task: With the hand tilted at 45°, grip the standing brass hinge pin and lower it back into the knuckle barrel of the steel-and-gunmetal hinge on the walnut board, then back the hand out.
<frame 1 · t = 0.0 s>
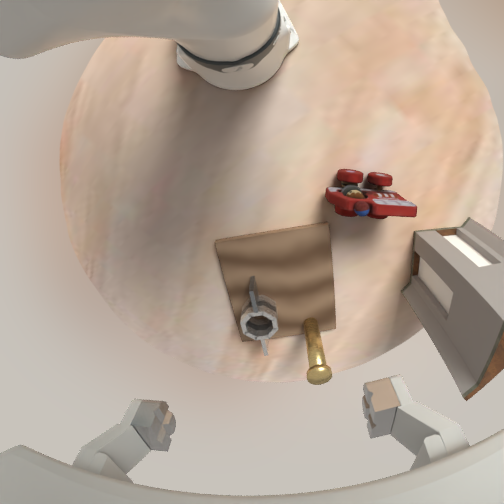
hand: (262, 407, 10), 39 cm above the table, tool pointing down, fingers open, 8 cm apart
walnut board: (281, 286, 53), on the table
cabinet: (428, 244, 48), on the table
hinge: (260, 309, 54), resting on walnut board
toy fire truck: (358, 190, 45), on the table
hinge pin: (310, 323, 55), point 1 cm above the table, touching walnut board
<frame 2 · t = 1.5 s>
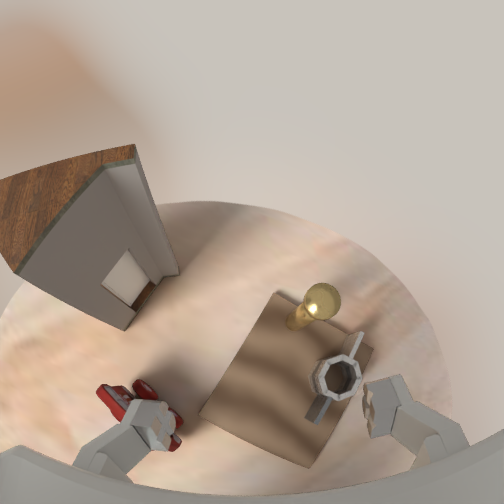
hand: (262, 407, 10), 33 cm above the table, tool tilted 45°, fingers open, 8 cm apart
walnut board: (291, 384, 41), on the table
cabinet: (119, 302, 43), on the table
hinge: (328, 377, 40), resting on walnut board
toy fire truck: (150, 414, 37), on the table
hinge pin: (294, 322, 43), point 1 cm above the table, touching walnut board
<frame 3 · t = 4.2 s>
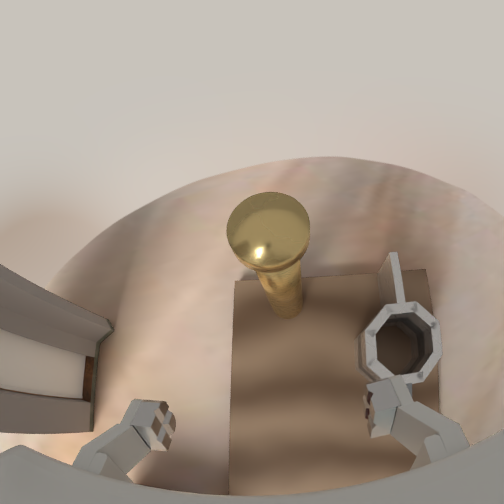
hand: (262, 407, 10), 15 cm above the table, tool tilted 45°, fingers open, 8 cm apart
walnut board: (338, 394, 23), on the table
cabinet: (73, 398, 27), on the table
hinge: (388, 351, 23), resting on walnut board
hinge pin: (287, 304, 26), point 1 cm above the table, touching walnut board
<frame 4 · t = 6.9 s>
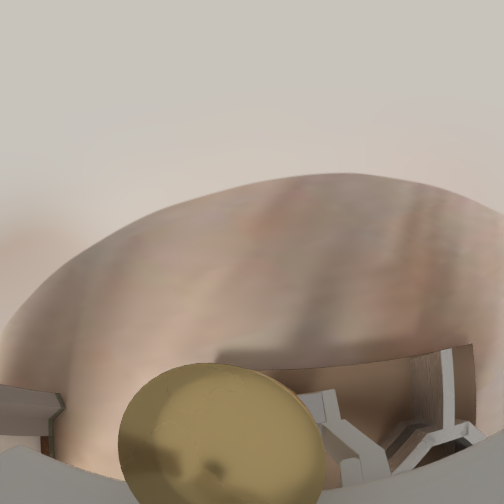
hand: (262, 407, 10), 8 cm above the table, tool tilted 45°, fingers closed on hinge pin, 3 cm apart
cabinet: (36, 471, 17), on the table
hinge: (414, 460, 13), resting on walnut board
hinge pin: (279, 407, 16), point 1 cm above the table, touching gripper, walnut board
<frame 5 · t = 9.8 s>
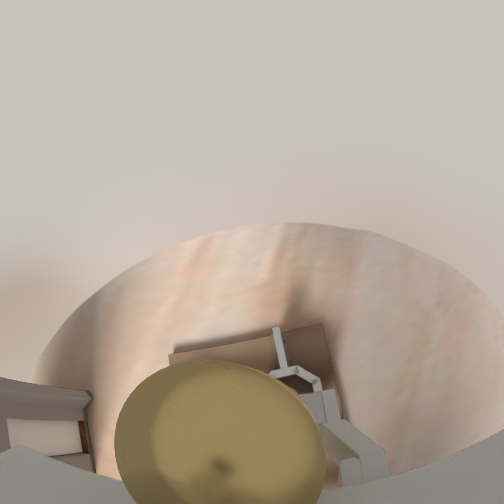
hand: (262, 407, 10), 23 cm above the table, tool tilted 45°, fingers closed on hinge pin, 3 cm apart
walnut board: (260, 430, 29), on the table
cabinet: (76, 452, 30), on the table
hinge: (292, 395, 29), resting on walnut board
hinge pin: (279, 406, 16), point 16 cm above the table, touching gripper
when the fingers open (9 cm above the table, at t = 13.0 s): hinge pin drops 1 cm, resting on walnut board.
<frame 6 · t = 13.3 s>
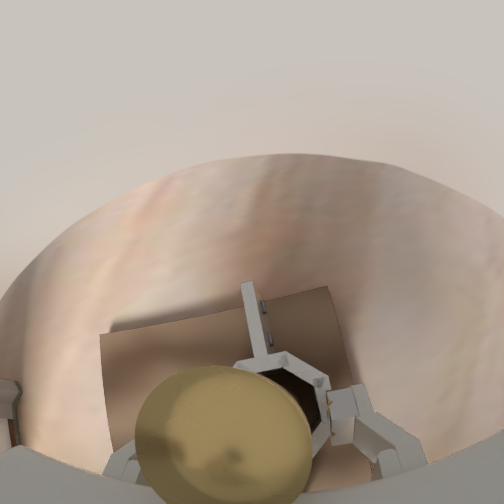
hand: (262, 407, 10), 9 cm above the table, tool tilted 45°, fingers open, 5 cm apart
walnut board: (230, 457, 17), on the table
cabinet: (11, 458, 18), on the table
hinge: (281, 405, 17), resting on walnut board
hinge pin: (281, 404, 17), point 1 cm above the table, touching walnut board
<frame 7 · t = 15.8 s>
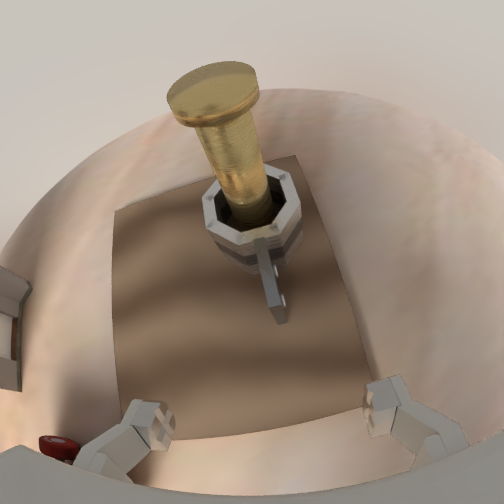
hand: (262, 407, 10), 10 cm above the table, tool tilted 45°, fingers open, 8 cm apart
walnut board: (218, 294, 23), on the table
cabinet: (7, 365, 24), on the table
hinge: (261, 235, 23), resting on walnut board
toy fire truck: (95, 477, 18), on the table
hinge pin: (261, 234, 23), point 1 cm above the table, touching walnut board
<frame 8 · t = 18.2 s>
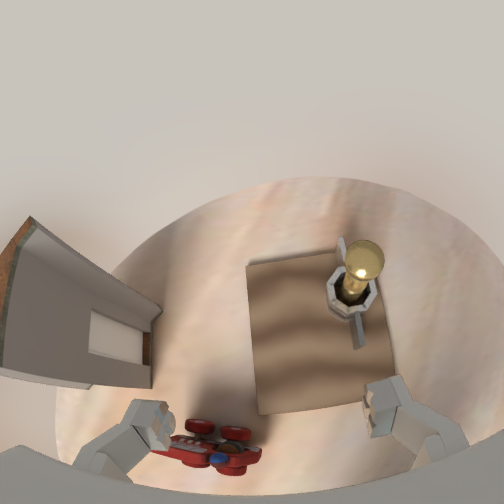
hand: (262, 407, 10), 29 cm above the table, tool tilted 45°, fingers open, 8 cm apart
walnut board: (319, 330, 39), on the table
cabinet: (133, 368, 42), on the table
hinge: (347, 299, 39), resting on walnut board
toy fire truck: (221, 444, 35), on the table
hinge pin: (347, 299, 39), point 1 cm above the table, touching walnut board
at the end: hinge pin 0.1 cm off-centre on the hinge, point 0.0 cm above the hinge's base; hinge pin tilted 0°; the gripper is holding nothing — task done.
